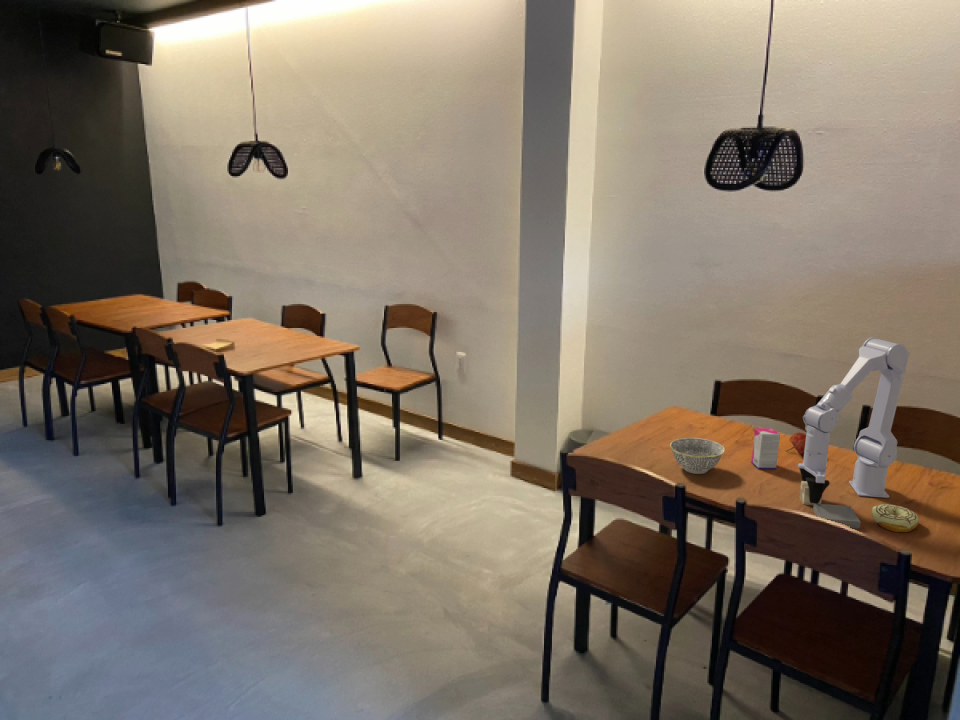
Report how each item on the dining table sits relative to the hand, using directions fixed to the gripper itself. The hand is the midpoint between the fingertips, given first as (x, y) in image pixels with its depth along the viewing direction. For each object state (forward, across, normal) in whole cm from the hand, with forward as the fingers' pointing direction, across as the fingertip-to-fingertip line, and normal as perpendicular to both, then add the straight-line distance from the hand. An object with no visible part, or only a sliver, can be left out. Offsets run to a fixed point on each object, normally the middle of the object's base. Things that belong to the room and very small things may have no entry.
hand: (810, 496), depth 195 cm
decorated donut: (+2, +10, +18) cm, 20 cm away
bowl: (+2, -17, -29) cm, 34 cm away
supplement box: (+2, -24, -8) cm, 25 cm away
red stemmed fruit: (+2, -37, +5) cm, 37 cm away
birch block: (+2, 0, 0) cm, 2 cm away
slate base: (+1, +10, +4) cm, 11 cm away
